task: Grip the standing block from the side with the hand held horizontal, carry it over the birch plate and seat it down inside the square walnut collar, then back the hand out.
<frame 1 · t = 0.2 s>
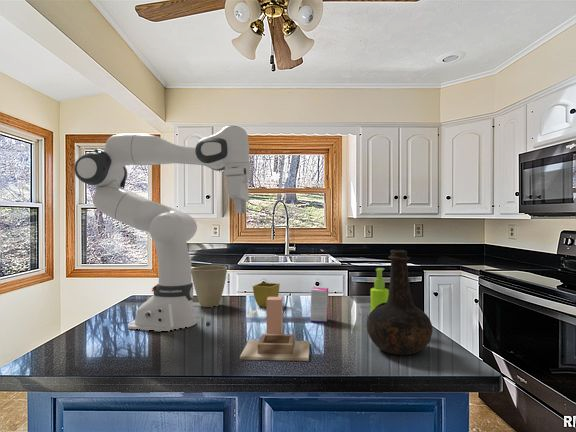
hand: (240, 213, 137), 39 cm above the counter, tool pointing down, fingers open, 8 cm apart
plant pot: (209, 306, 168), on the counter
flower pot: (266, 306, 167), on the counter
block: (274, 336, 124), on the counter
supplement box: (319, 321, 143), on the counter
housing: (276, 351, 111), on the counter
soap dispenser: (380, 329, 133), on the counter
butter knife: (248, 319, 147), on the counter
glass bottle: (398, 350, 112), on the counter
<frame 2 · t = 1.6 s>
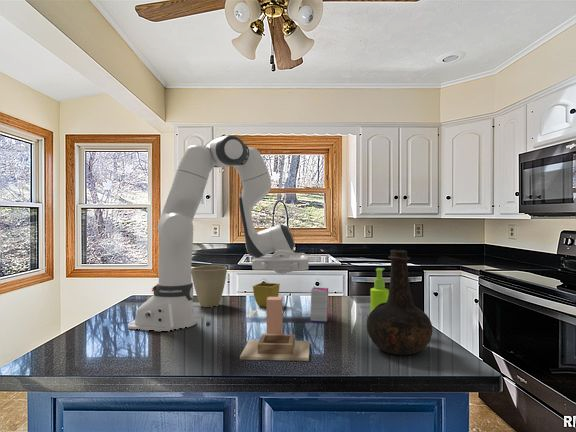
hand: (278, 266, 136), 20 cm above the counter, tool horizontal, fingers open, 8 cm apart
nothing on the counter moved.
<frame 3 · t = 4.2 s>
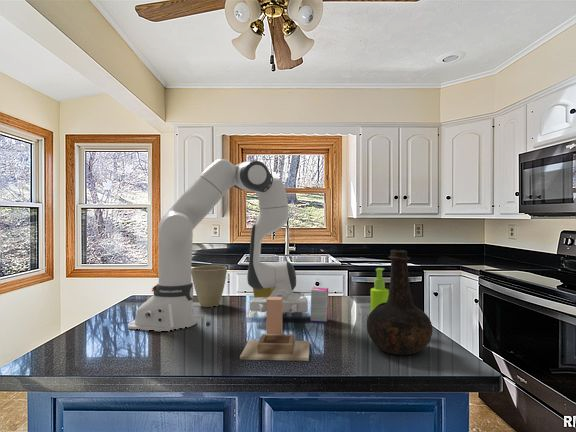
hand: (276, 310, 132), 6 cm above the counter, tool horizontal, fingers open, 8 cm apart
nothing on the counter moved.
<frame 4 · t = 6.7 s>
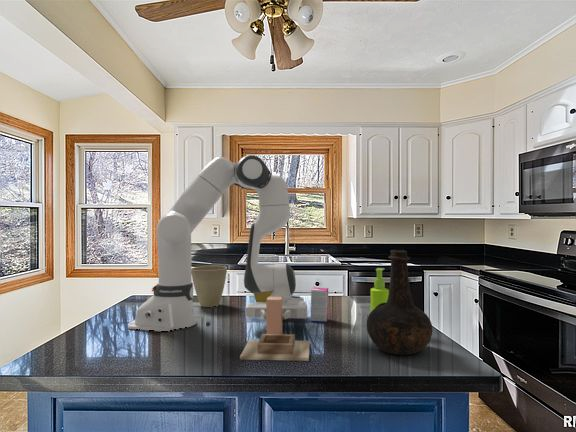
hand: (274, 316, 123), 7 cm above the counter, tool horizontal, fingers closed on block, 4 cm apart
block: (274, 336, 124), on the counter, touching gripper
everything else where it was.
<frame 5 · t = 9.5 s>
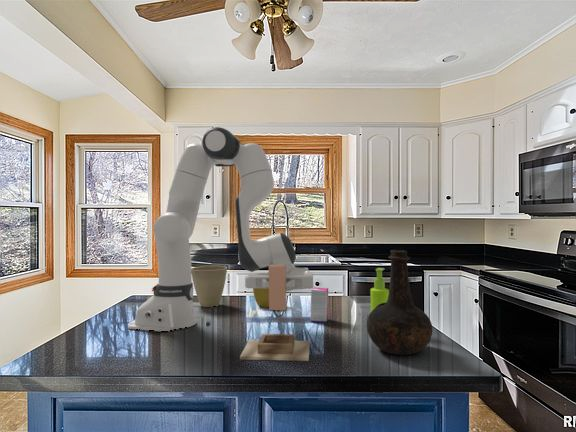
hand: (277, 285, 112), 18 cm above the counter, tool horizontal, fingers closed on block, 4 cm apart
block: (277, 308, 113), point 12 cm above the counter, touching gripper
everything else where it was.
when the fingers open (8 cm above the counter, at t = 12.4 s): block stays where it is, resting on housing.
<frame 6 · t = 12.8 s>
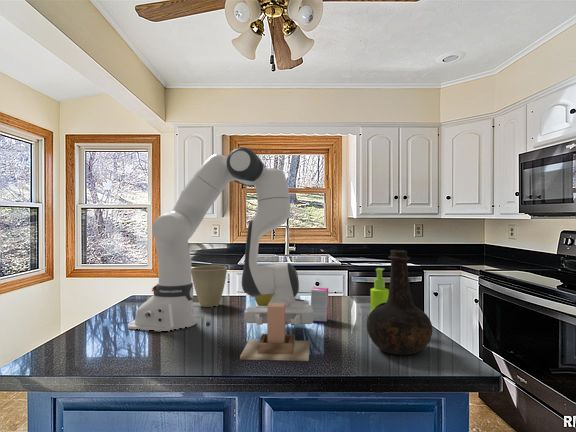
hand: (276, 322, 110), 8 cm above the counter, tool horizontal, fingers open, 8 cm apart
block: (276, 348, 111), point 1 cm above the counter, touching housing
everything else where it was.
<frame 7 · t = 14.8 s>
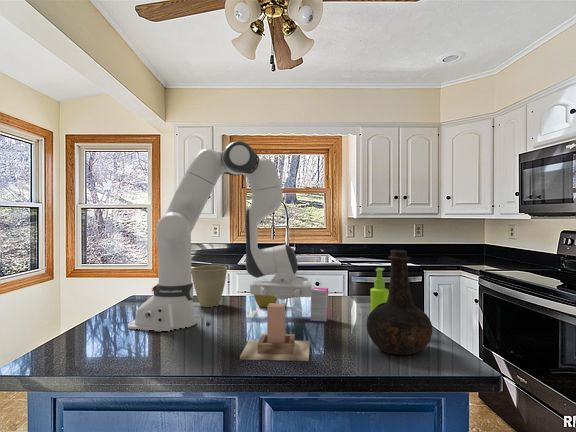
hand: (279, 293, 124), 13 cm above the counter, tool horizontal, fingers open, 8 cm apart
nothing on the counter moved.
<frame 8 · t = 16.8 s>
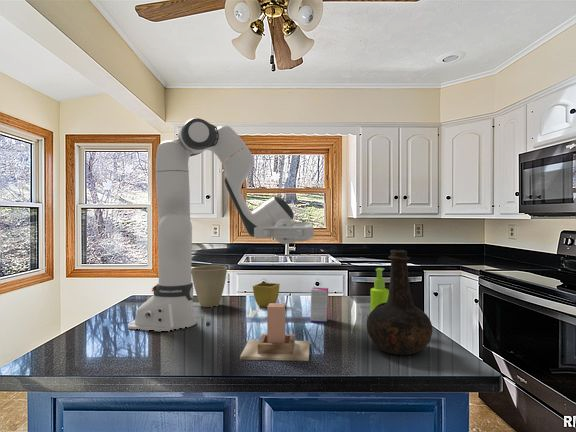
hand: (282, 233, 129), 32 cm above the counter, tool horizontal, fingers open, 8 cm apart
at the end: block 0.1 cm off-centre on the housing, point 0.8 cm above the housing's base; block tilted 0°; the gripper is holding nothing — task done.
